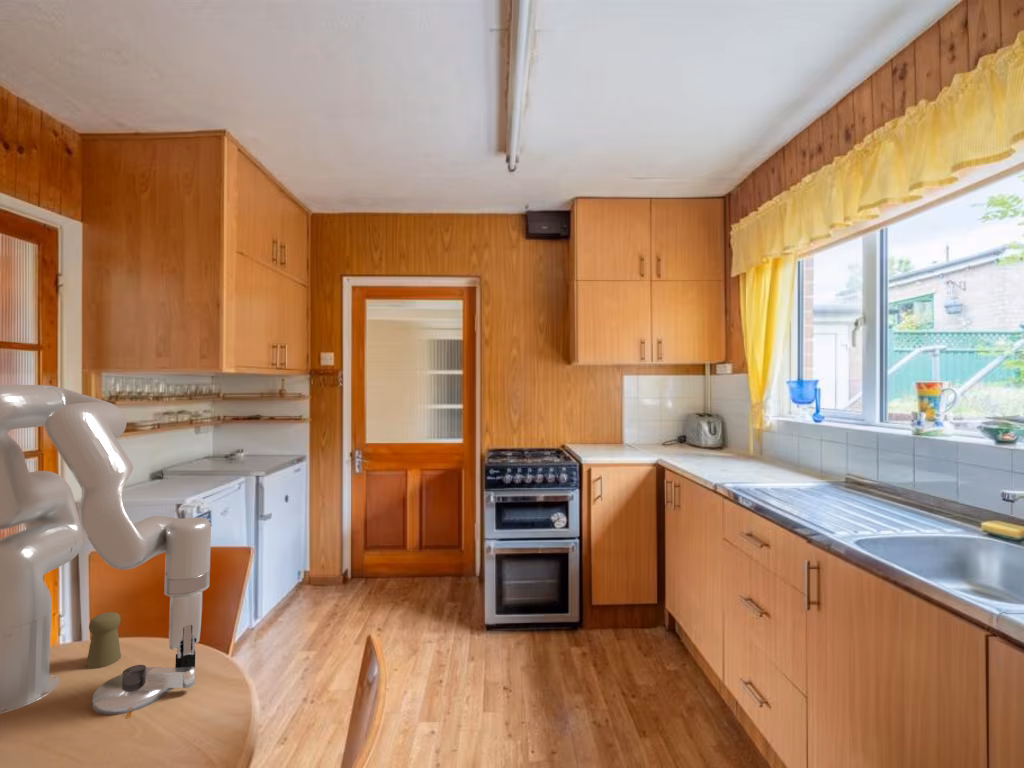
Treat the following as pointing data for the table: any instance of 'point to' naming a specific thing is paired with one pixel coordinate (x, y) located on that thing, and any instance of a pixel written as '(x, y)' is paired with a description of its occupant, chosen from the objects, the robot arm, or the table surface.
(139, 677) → the dial
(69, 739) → the table surface
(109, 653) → the olive pepper mill
